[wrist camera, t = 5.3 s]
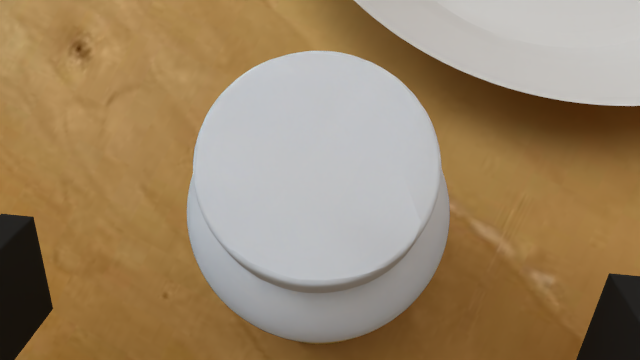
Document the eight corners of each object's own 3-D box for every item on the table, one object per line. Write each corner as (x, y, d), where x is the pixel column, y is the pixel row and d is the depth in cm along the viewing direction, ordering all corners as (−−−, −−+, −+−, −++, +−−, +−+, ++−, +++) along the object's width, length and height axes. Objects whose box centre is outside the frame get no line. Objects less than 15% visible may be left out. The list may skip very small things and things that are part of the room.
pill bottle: (210, 221, 22) (89, 88, 11) (355, 151, 23) (383, -41, 12) (281, 377, 20) (225, 411, 9) (436, 295, 21) (560, 233, 10)
